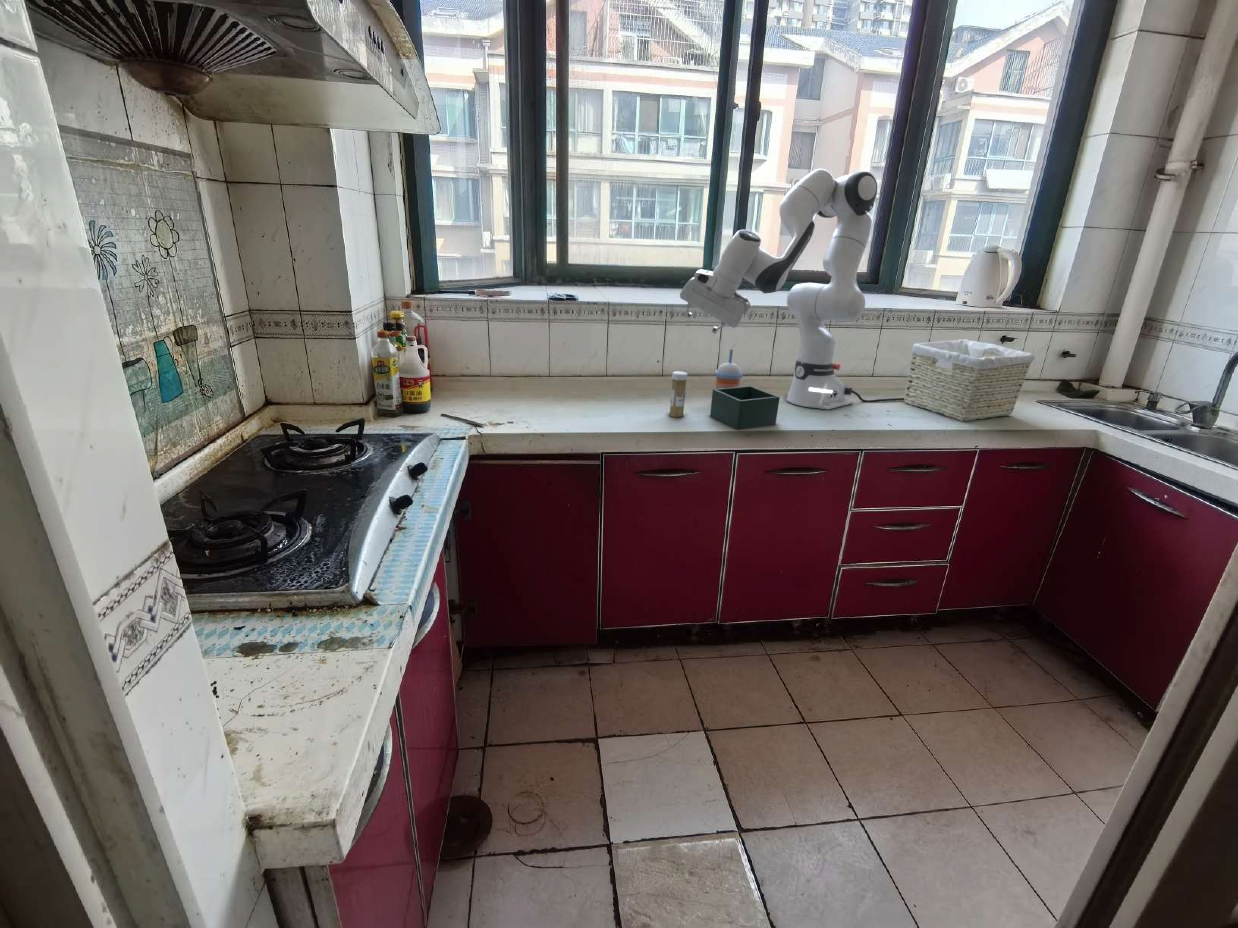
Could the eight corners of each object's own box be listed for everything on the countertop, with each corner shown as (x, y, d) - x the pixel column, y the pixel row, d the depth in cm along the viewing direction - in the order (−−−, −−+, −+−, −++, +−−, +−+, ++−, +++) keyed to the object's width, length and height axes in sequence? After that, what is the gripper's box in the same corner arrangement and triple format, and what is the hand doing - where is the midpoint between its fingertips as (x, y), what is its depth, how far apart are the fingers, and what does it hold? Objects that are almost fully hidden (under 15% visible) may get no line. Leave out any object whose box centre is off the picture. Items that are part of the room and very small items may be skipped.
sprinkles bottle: (681, 418, 180) (685, 375, 175) (667, 416, 181) (670, 373, 176) (684, 414, 184) (688, 371, 179) (670, 412, 185) (674, 370, 180)
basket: (963, 425, 187) (982, 356, 179) (895, 401, 209) (910, 340, 201) (1019, 417, 197) (1039, 352, 189) (948, 396, 220) (964, 337, 212)
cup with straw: (738, 408, 193) (745, 353, 186) (710, 405, 194) (716, 351, 187) (739, 401, 201) (745, 348, 194) (712, 398, 203) (717, 346, 196)
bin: (747, 411, 190) (750, 385, 187) (775, 424, 179) (779, 396, 175) (709, 416, 184) (712, 389, 180) (736, 429, 172) (740, 401, 169)
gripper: (754, 299, 179) (730, 339, 186) (695, 267, 179) (674, 307, 186) (752, 304, 173) (728, 344, 180) (691, 270, 174) (669, 311, 181)
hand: (700, 325), depth 183 cm, fingers open, 8 cm apart
